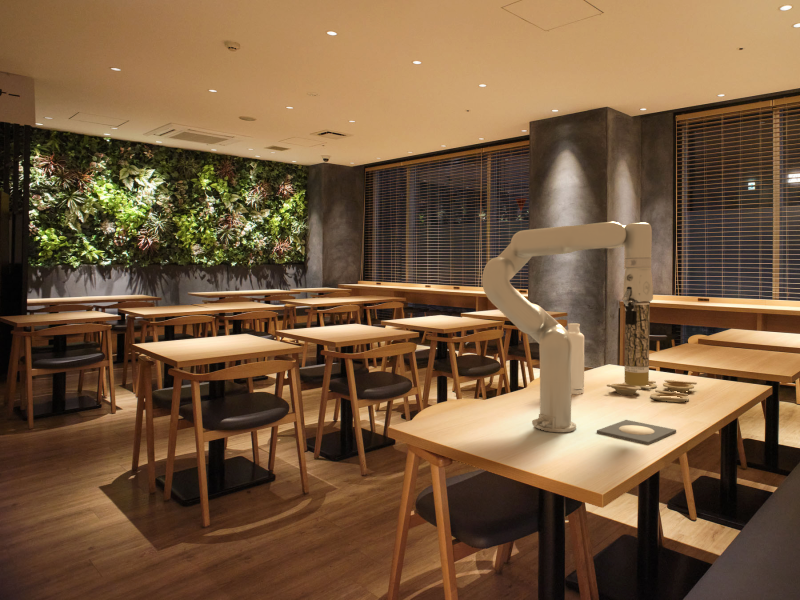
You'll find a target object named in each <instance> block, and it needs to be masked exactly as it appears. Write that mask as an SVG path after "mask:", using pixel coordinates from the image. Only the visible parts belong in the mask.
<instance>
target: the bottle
mask: <svg viewBox="0 0 800 600" xmlns="http://www.w3.org/2000/svg"><path fill="white" fill-rule="evenodd" d="M580 326H581V323H576V322H573V323H567V328H568V329H567V331H568V333H569V335H570V338H571V343H572V353H571V395H582V394H581V393H583V394H584V393H585V335H584V334H583V333H582V332H581V330H580Z"/></svg>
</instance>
